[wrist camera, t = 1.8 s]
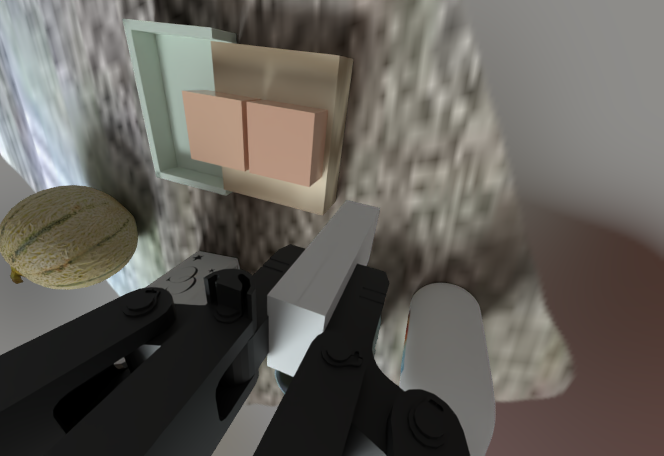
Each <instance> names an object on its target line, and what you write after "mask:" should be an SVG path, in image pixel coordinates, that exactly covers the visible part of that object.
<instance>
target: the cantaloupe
mask: <svg viewBox="0 0 664 456" xmlns="http://www.w3.org/2000/svg"><path fill="white" fill-rule="evenodd" d="M137 242H138V232H137V226H136V222H135V219H134V217H133V215H132V214H131V213H130V212H129V211H128V210H127V209H126V208H125V207H124V206H123V205H121V204H120V203H119V202H118V201H117V200H116V199H114V198H113V197H112V196H110V195H108V194H106V193H104V192H102V191H99V190H97V189H94V188H91V187H86V186H77V185H70V186H59V187H54V188H50V189H46V190H42V191H40V192H37V193H36V194H33V195H30V196H29V197H27V198H25V199H24V200H22V201H20V202H19V203H18V204H17V205H16V206H14V207H13V208H12V209H11V210H10V211H9V213H8V214H7V215H6V216H5V218H4V219H3V221H2V223H1V224H0V252H1V254H2V256H3V257H4V259H5V261H6V262H8V263H9V264H10V266H11V269H12V272H11V275H10V276H11V279H12V281H13V282H15V283H16V284H18V283H21V282H23V280H22V279H21V276H23V277H26V278H28V279H29V280H31V281H32V282H34V283H36V284H39V285H42V286H43V287H48V288H52V289H75V288H83V287H88V286H91V285H94V284H97V283H100V282H102V281H104V280H106V279H108V278H109V277H111V276H112V275H114V274H116V273H117V272H118V271H120V270H121V269H122V268H123V267H124V266H125V265H126V264H127V263H128V262H129V260H130V259H131V258H132V256H133V254H134V252H135V250H136V248H137Z"/></svg>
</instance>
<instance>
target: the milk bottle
mask: <svg viewBox="0 0 664 456" xmlns="http://www.w3.org/2000/svg"><path fill="white" fill-rule="evenodd" d="M400 388H401V389H403V390H404V391H407V390H409V389H422V390H425V391H428V392H431V393H433V394H435V395H437V396H438V397H439V398H441V399H442V400H443V401H445V402H446V403H447V404H448V405H449V407H450V408H451V409H452V410H453V412H454V413H455V414H456V415H457V417H458V419H459V422H460V424H461V426H462V428H463V431H464V434H465V438H466V441H467V445H468V449H469V452H470V456H485V454H486V451H487V448H488V446H489V443H490V440H491V438H492V434H493V430H494V425H495V399H494V390H493V382H492V376H491V369H490V363H489V356H488V350H487V344H486V338H485V332H484V327H483V321H482V315H481V311H480V307H479V304H478V302H477V301H476V299H475V298H474V297H473V296H472V295H471V294H470V293H469V292H468V291H466V290H465V289H463V288H461V287H459V286H457V285H453V284H449V283H433V284H429V285H426V286H424V287H422V288H420V289H419V290H418V291H417V292H416V293H415V294H414V295H413V297H412V299H411V303H410V308H409V315H408V321H407V328H406V335H405V342H404V350H403V357H402V365H401V375H400Z"/></svg>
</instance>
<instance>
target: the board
mask: <svg viewBox="0 0 664 456" xmlns="http://www.w3.org/2000/svg"><path fill="white" fill-rule="evenodd" d="M211 52H212V63H213V74H214V85H215V91H216V92H222V93H228V94H234V95H241V96H247V97H253V98H259V99H261V100H271V101H277V102H283V103H289V104H295V105H301V106H307V107H313V108H319V109H325V110H328V118H327V129H326V139H325V150H324V160H323V171H322V178H320V179H319V180H318V181H317V182H315V183H314V184H313V185H311V186H310V187H307V186H302V185H298V184H294V183H290V182H286V181H282V180H277V179H273V178H269V177H265V176H261V175H257V174H252V173H249V170H247V171H245V172H244V171H240V170H236V169H232V168H228V167H223V166H222V174H223V185H224V190H228V191H232V192H235V193H239V194H243V195H247V196H251V197H254V198H258V199H262V200H266V201H270V202H273V203H277V204H281V205H285V206H289V207H292V208H296V209H300V210H304V211H307V212H311V213H315V214H319V215H324V214H325V213H326V211H327V210H328V209H329V208H330V207H331V206H332V205H333V204H334V203H335V201H336V193H337V185H338V177H339V169H340V161H341V153H342V146H343V138H344V130H345V122H346V114H347V106H348V98H349V90H350V83H351V75H352V67H353V59H351V58H347V57H343V56H339V55H331V54H322V53H313V52H304V51H295V50H287V49H278V48H269V47H260V46H252V45H243V44H234V43H225V42H216V41H211Z"/></svg>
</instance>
